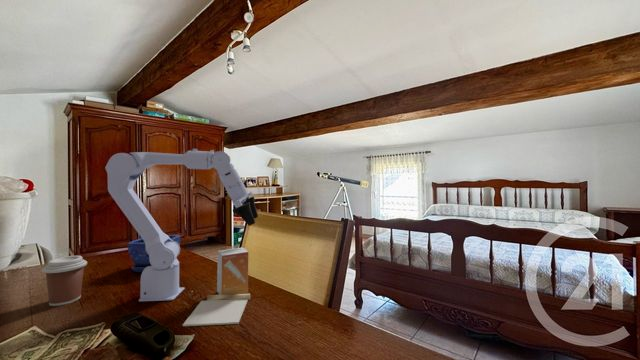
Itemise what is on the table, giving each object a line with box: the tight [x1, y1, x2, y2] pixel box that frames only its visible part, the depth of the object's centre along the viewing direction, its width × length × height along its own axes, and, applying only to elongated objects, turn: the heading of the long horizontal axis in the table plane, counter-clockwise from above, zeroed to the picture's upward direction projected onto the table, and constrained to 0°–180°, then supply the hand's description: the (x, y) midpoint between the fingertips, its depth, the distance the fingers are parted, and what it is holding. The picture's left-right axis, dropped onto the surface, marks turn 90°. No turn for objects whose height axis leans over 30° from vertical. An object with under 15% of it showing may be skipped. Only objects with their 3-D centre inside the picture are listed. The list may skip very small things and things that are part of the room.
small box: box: [216, 247, 249, 295], centre depth 78 cm, size 8×6×13 cm
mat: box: [182, 299, 249, 327], centre depth 67 cm, size 13×12×1 cm
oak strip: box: [206, 293, 251, 301], centre depth 73 cm, size 12×1×2 cm, turn 96°
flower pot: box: [127, 234, 181, 273], centre depth 100 cm, size 13×13×12 cm
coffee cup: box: [41, 255, 88, 307], centre depth 73 cm, size 9×9×12 cm
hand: (253, 221), depth 85 cm, fingers open, 7 cm apart
